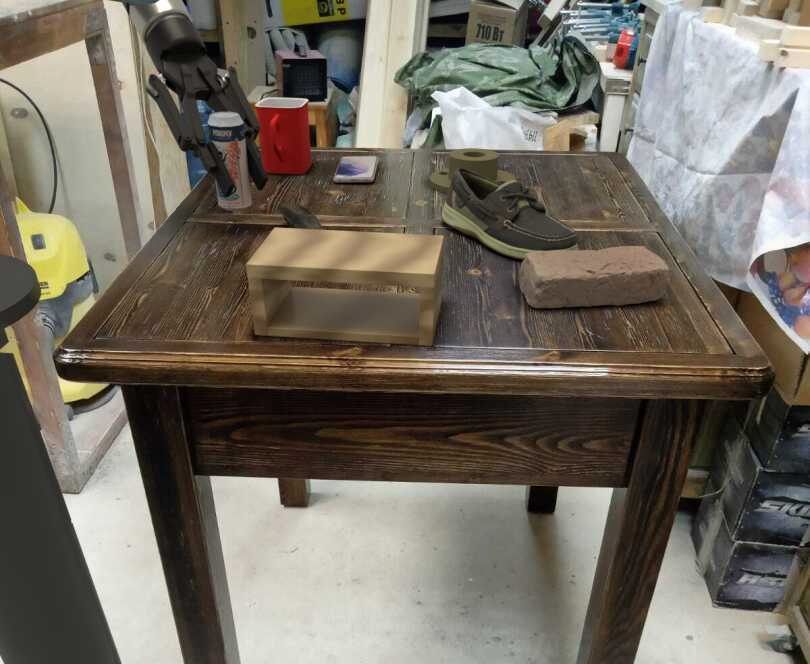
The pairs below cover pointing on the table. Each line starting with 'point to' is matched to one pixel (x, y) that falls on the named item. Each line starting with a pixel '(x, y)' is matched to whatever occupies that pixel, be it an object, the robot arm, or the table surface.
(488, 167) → the flange
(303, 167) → the mug
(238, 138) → the beer can
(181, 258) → the table surface
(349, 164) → the smartphone
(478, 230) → the boat shoe
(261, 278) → the shelf
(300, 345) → the table surface
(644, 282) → the brick
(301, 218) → the tool
